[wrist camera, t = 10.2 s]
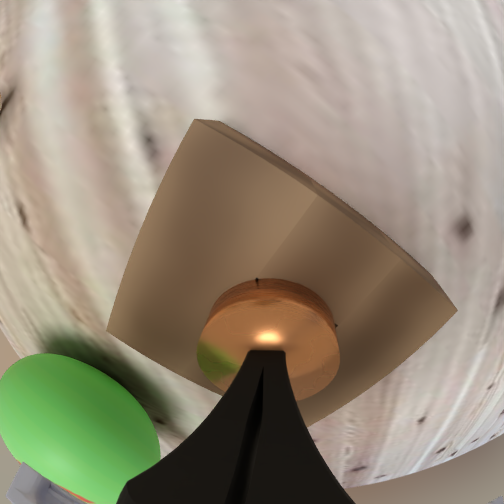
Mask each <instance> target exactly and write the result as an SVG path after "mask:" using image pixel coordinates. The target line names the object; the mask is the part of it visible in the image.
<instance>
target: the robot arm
mask: <svg viewBox="0 0 504 504" xmlns="http://www.w3.org/2000/svg"><path fill="white" fill-rule="evenodd" d="M6 497H7V499H9V500H10V501H11V502H12V503H13V504H87V503H85V502H83V501H82V500H80V499H78V498H76V497H75V496H73V495H71V494H70V493H69V492H68V491H66V490H64V489H63V488H61V487H60V486H58V485H57V484H55V483H53V482H52V481H50V480H49V479H47V478H45V477H44V476H42V475H41V474H40V473H38V472H37V471H36V470H34V469H33V468H32V467H30V466H29V465H27V464H26V463H25V462H22V464H21V466H20V468H19V470H18V472H17V473H16V475H15V477H14V479H13V481H12V483H11V485H10V487H9V489H8V492H7V494H6ZM116 504H355V503H354V501H353V500H352V499H351V498H350V497H349V495H348V494H347V493H346V492H345V490H344V489H343V488H342V486H341V485H340V483H339V482H338V481H337V479H336V478H335V476H334V475H333V474H332V472H331V470H330V469H329V467H328V466H327V464H326V462H325V461H324V459H323V458H322V456H321V454H320V453H319V451H318V449H317V447H316V445H315V443H314V441H313V440H312V438H311V435H310V433H309V431H308V429H307V427H306V425H305V423H304V420H303V418H302V415H301V413H300V410H299V408H298V405H297V402H296V400H295V396H294V393H293V390H292V387H291V383H290V380H289V375H288V370H287V364H286V352H284V351H277V350H250V351H248V353H247V355H246V357H245V359H244V362H243V364H242V366H241V368H240V369H239V371H238V373H237V375H236V376H235V378H234V380H233V381H232V383H231V385H230V386H229V388H228V389H227V391H226V392H225V394H224V395H223V397H222V398H221V399H220V401H219V402H218V404H217V405H216V406H215V408H214V409H213V410H212V411H211V413H210V414H209V415H208V416H207V418H206V419H205V420H204V421H203V422H202V423H201V424H200V425H199V427H198V428H197V429H196V430H195V431H194V432H193V433H192V434H191V435H190V436H189V437H188V438H187V439H186V440H184V441H183V442H182V443H181V444H180V445H179V446H178V447H177V448H176V449H174V450H173V451H172V452H171V453H169V454H168V455H167V456H165V457H164V458H163V459H161V460H160V461H159V462H157V463H156V464H155V465H153V466H152V467H150V468H149V469H147V470H145V471H144V472H142V473H140V474H139V475H137V476H135V477H134V478H132V479H130V480H128V481H127V482H126V484H125V486H124V487H123V489H122V491H121V493H120V495H119V497H118V500H117V503H116ZM487 504H504V501H503V496H500V497H498V498H496V499H494V500H493V501H491V502H489V503H487Z"/></svg>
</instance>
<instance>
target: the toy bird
mask: <svg viewBox="0 0 504 504" xmlns="http://www.w3.org/2000/svg"><path fill="white" fill-rule="evenodd" d="M0 434H1V436H2V438H3V440H4V442H5V444H6V446H7V447H8V449H9V451H10V452H11V453H12V455H13V456H14V457H15V459H16V460H17V461H18V462H19V463H20V464H22V462H25V463H26V464H27V465H29V466H30V467H32V468H33V469H34V470H36V471H37V472H38V473H40V474H41V475H42V476H44V477H45V478H47V479H49V480H50V481H52V482H53V483H55V484H57V485H58V486H60V487H61V488H63V489H64V490H66V491H68V492H69V493H70V494H71V495H73V496H75V497H76V498H78V499H80V500H82V501H83V502H85V503H91V504H116V503H117V500H118V497H119V495H120V493H121V491H122V489H123V487H124V486H125V484H126V482H127V481H128V480H130V479H132V478H134V477H135V476H137V475H139V474H140V473H142V472H144V471H145V470H147V469H149V468H150V467H152V466H153V465H155V464H156V463H157V462H159V461H160V445H159V440H158V436H157V433H156V431H155V428H154V426H153V424H152V422H151V420H150V418H149V416H148V415H147V413H146V411H145V410H144V409H143V407H142V406H141V405H140V403H139V402H138V401H137V400H136V399H135V398H134V397H133V396H132V395H131V394H130V393H129V392H128V391H127V390H126V389H125V388H124V387H123V386H121V385H120V384H119V383H118V382H116V381H115V380H113V379H112V378H111V377H109V376H108V375H106V374H104V373H103V372H101V371H99V370H98V369H96V368H94V367H92V366H90V365H88V364H86V363H83V362H81V361H79V360H76V359H73V358H70V357H67V356H63V355H58V354H48V353H44V354H35V355H31V356H27V357H25V358H22V359H20V360H19V361H17V362H16V363H15V364H13V365H12V366H11V367H10V368H9V369H8V370H7V371H6V372H5V373H4V375H3V376H2V378H1V380H0Z"/></svg>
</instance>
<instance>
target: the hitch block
mask: <svg viewBox="0 0 504 504" xmlns="http://www.w3.org/2000/svg"><path fill="white" fill-rule="evenodd" d="M256 277H257V278H258V279H263V278H274V279H283V280H288V281H292V282H295V283H298V284H301V285H303V286H305V287H307V288H309V289H310V290H312V291H314V292H315V293H316V294H318V295H319V296H320V297H321V298H322V299H323V300H324V301H325V302H326V304H327V305H328V307H329V308H330V310H331V312H332V315H333V318H334V323H335V329H336V335H337V341H338V347H339V353H340V364H339V369H338V371H337V373H336V375H335V377H334V378H333V380H332V381H331V382H330V383H329V384H328V385H327V386H326V387H325V388H324V389H322V390H321V391H319V392H318V393H316V394H314V395H312V396H310V397H308V398H305V399H302V400H299V401H296V402H297V405H298V408H299V410H300V413H301V415H302V418H303V420H304V423H305V425H306V427H309V426H311V425H312V424H314V423H316V422H318V421H319V420H321V419H323V418H324V417H326V416H328V415H329V414H331V413H333V412H334V411H336V410H337V409H339V408H341V407H342V406H344V405H345V404H347V403H348V402H350V401H351V400H353V399H354V398H356V397H357V396H359V395H360V394H362V393H363V392H365V391H366V390H367V389H369V388H370V387H372V386H373V385H374V384H376V383H377V382H378V381H380V380H381V379H382V378H384V377H385V376H386V375H387V374H389V373H390V372H391V371H393V370H394V369H395V368H396V367H398V366H399V365H400V364H401V363H402V362H404V361H405V360H406V359H407V358H408V357H410V356H411V355H412V354H413V353H414V352H415V351H416V350H418V349H419V348H420V347H421V346H422V345H423V344H424V343H425V342H426V341H428V340H429V339H430V338H431V337H432V336H433V335H434V334H435V333H436V332H437V331H438V330H439V329H440V328H441V327H442V326H443V325H444V324H445V323H446V322H447V321H448V320H449V319H450V318H451V317H452V316H453V315H454V314H455V313H456V312H457V311H458V310H457V309H456V307H455V306H454V305H453V303H452V302H451V300H450V299H449V298H448V296H447V295H446V293H445V292H444V291H443V289H442V288H441V287H440V285H439V284H438V283H437V281H436V280H435V279H434V278H433V276H432V275H431V274H430V273H429V272H428V271H427V270H426V269H425V268H423V267H422V266H421V265H420V264H419V263H418V262H417V261H416V260H415V259H414V258H412V257H411V256H410V255H409V254H408V253H407V252H406V251H404V250H403V249H402V248H401V247H400V246H399V245H397V244H396V243H395V242H394V241H393V240H392V239H390V238H389V237H388V236H387V235H386V234H384V233H383V232H382V231H381V230H379V229H378V228H377V227H376V226H375V225H373V224H372V223H371V222H370V221H368V220H367V219H366V218H364V217H363V216H362V215H361V214H359V213H358V212H357V211H355V210H354V209H353V208H352V207H350V206H349V205H348V204H346V203H345V202H344V201H342V200H341V199H340V198H338V197H337V196H335V195H334V194H333V193H331V192H330V191H329V190H327V189H326V188H324V187H323V186H322V185H320V184H319V183H317V182H316V181H314V180H313V179H312V178H310V177H309V176H307V175H306V174H304V173H303V172H301V171H300V170H298V169H297V168H295V167H294V166H292V165H291V164H289V163H288V162H286V161H285V160H283V159H282V158H280V157H279V156H277V155H275V154H274V153H272V152H271V151H269V150H268V149H266V148H264V147H263V146H261V145H259V144H258V143H256V142H255V141H253V140H251V139H250V138H248V137H246V136H244V135H243V134H241V133H239V132H238V131H236V130H234V129H232V128H231V127H229V126H227V125H225V124H224V123H222V122H220V121H215V120H202V119H194V120H193V122H192V124H191V126H190V127H189V129H188V131H187V133H186V135H185V137H184V138H183V140H182V142H181V144H180V146H179V148H178V150H177V152H176V154H175V156H174V158H173V159H172V161H171V163H170V165H169V167H168V170H167V172H166V174H165V176H164V178H163V180H162V182H161V184H160V186H159V188H158V191H157V193H156V195H155V197H154V199H153V202H152V204H151V206H150V208H149V211H148V213H147V215H146V218H145V220H144V223H143V225H142V227H141V230H140V232H139V235H138V237H137V240H136V242H135V245H134V248H133V250H132V253H131V256H130V258H129V261H128V264H127V266H126V269H125V272H124V275H123V278H122V281H121V284H120V287H119V290H118V293H117V296H116V299H115V302H114V306H113V309H112V312H111V316H110V319H109V322H108V326H107V330H106V331H107V332H109V333H110V334H112V335H113V336H115V337H116V338H118V339H119V340H121V341H122V342H124V343H125V344H127V345H128V346H130V347H132V348H133V349H135V350H136V351H138V352H140V353H141V354H143V355H145V356H146V357H148V358H150V359H151V360H153V361H155V362H157V363H158V364H160V365H162V366H164V367H166V368H167V369H169V370H171V371H173V372H175V373H177V374H178V375H180V376H182V377H184V378H186V379H188V380H190V381H192V382H194V383H196V384H198V385H200V386H202V387H204V388H206V389H208V390H210V391H213V392H215V393H217V394H219V395H221V396H223V395H224V394H225V392H224V391H222V390H221V389H219V388H218V387H217V386H215V385H214V384H213V383H212V382H211V381H210V380H209V379H208V378H207V377H206V376H205V375H204V373H203V372H202V370H201V368H200V366H199V364H198V360H197V354H196V351H197V345H198V341H199V339H200V336H201V333H202V331H203V328H204V326H205V324H206V321H207V319H208V316H209V314H210V311H211V309H212V307H213V305H214V303H215V302H216V300H217V299H218V298H219V297H220V296H221V295H222V294H223V293H224V292H226V291H227V290H228V289H230V288H232V287H234V286H236V285H237V284H240V283H243V282H246V281H250V280H254V279H256Z"/></svg>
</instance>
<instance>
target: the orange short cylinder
mask: <svg viewBox="0 0 504 504" xmlns="http://www.w3.org/2000/svg"><path fill="white" fill-rule="evenodd" d="M250 350H277V351H284V352H286V364H287V370H288V375H289V380H290V383H291V387H292V390H293V393H294V396H295V400H296V401H299V400H302V399H305V398H308V397H310V396H312V395H314V394H316V393H318V392H319V391H321V390H322V389H324V388H325V387H326V386H327V385H328V384H329V383H330V382H331V381H332V380H333V378H334V377H335V375H336V373H337V371H338V369H339V364H340V353H339V347H338V341H337V335H336V329H335V323H334V318H333V315H332V312H331V310H330V308H329V307H328V305H327V304H326V302H325V301H324V300H323V299H322V298H321V297H320V296H319V295H318V294H316V293H315V292H314V291H312V290H310V289H309V288H307V287H305V286H303V285H301V284H298V283H295V282H292V281H288V280H283V279H274V278H263V279H258V278H257V277H256V279H254V280H250V281H246V282H243V283H240V284H237V285H236V286H234V287H232V288H230V289H228V290H227V291H226V292H224V293H223V294H222V295H221V296H220V297H219V298H218V299H217V300H216V302H215V303H214V305H213V307H212V309H211V311H210V314H209V316H208V319H207V321H206V324H205V326H204V328H203V331H202V333H201V336H200V339H199V341H198V345H197V351H196V354H197V360H198V364H199V366H200V368H201V370H202V372H203V373H204V375H205V376H206V377H207V378H208V379H209V380H210V381H211V382H212V383H213V384H214V385H215V386H217V387H218V388H219V389H221V390H222V391H224V392H226V391H227V389H228V388H229V386H230V385H231V383H232V381H233V380H234V378H235V376H236V375H237V373H238V371H239V369H240V368H241V366H242V364H243V362H244V359H245V357H246V355H247V353H248V351H250Z"/></svg>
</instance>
